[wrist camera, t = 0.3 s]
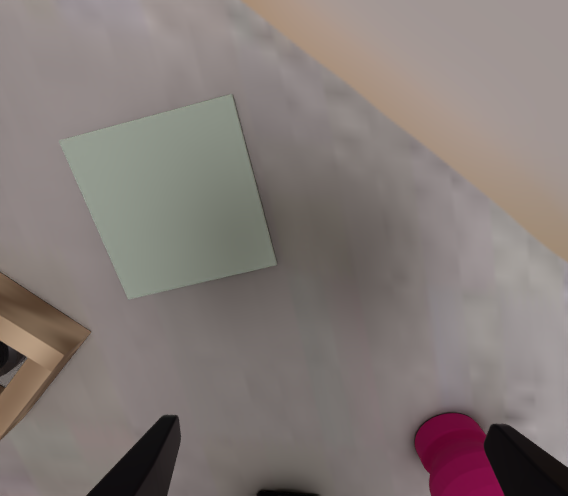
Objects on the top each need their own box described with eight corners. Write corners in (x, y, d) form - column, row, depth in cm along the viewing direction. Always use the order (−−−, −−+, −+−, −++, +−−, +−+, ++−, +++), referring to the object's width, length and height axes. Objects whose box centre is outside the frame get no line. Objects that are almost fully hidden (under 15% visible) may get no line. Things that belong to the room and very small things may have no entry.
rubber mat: (277, 262, 22) (277, 265, 21) (131, 296, 23) (128, 299, 22) (233, 95, 19) (231, 93, 18) (64, 141, 19) (58, 140, 19)
